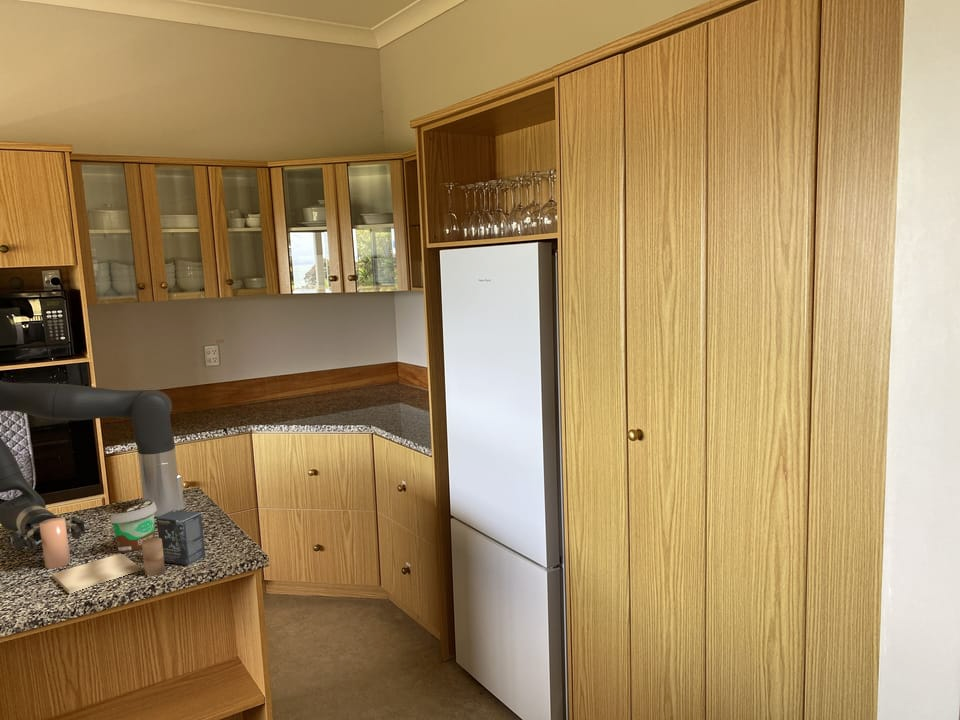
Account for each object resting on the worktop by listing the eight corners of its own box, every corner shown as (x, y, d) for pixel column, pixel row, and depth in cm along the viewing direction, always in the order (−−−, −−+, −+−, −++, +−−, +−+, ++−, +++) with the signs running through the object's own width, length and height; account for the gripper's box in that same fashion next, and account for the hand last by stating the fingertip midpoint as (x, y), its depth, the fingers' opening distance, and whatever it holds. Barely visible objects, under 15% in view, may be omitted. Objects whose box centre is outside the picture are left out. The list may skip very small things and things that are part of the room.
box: (160, 562, 159) (155, 517, 158) (179, 552, 165) (174, 508, 163) (188, 566, 157) (183, 520, 155) (206, 556, 162) (201, 511, 160)
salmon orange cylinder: (67, 557, 165) (61, 516, 164) (73, 563, 162) (67, 520, 160) (42, 564, 162) (36, 522, 160) (48, 570, 158) (42, 527, 157)
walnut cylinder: (161, 566, 157) (157, 536, 156) (168, 571, 154) (164, 540, 153) (142, 572, 154) (138, 541, 153) (149, 577, 152) (145, 546, 151)
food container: (137, 557, 163) (133, 515, 162) (114, 556, 165) (109, 514, 163) (171, 536, 175) (167, 497, 174) (149, 536, 176) (144, 497, 175)
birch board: (121, 557, 164) (121, 553, 163) (140, 571, 155) (140, 567, 155) (52, 578, 154) (52, 573, 154) (69, 594, 145) (68, 589, 145)
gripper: (0, 517, 166) (17, 533, 154) (68, 501, 175) (89, 515, 164) (5, 548, 167) (22, 566, 155) (72, 530, 176) (93, 546, 165)
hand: (56, 540), depth 160 cm, fingers open, 8 cm apart
